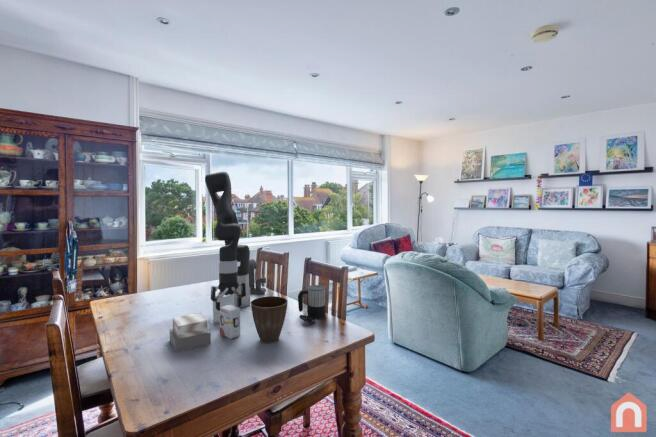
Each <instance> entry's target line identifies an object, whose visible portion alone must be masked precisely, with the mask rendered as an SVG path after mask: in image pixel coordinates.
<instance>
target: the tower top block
mask: <svg viewBox="0 0 656 437" xmlns="http://www.w3.org/2000/svg"><path fill="white" fill-rule="evenodd" d="M208 326H209V325H208V319H207V318H206V317H205V316H204V315H203V314H202V312H197V313H192V314H185V315H181V316H175V317H172V329H173V331H174V333H175V334H176V336H177V338H178V339H181V338H185V337H190V336H194V335H199V334H204V333H208V330H209V329H208Z"/></svg>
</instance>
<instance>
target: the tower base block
mask: <svg viewBox="0 0 656 437" xmlns="http://www.w3.org/2000/svg"><path fill="white" fill-rule="evenodd" d="M211 339H212V338H211V331H210V330H209V329H208V333H204V334H199V335H194V336H190V337H185V338H181V339H178V338H177V336H176V334H175V333H174V331H173V328H169V341H170V344H171V346H172V348H173V349H174V351H175V353H178V352H182V351H186V350H191V349H195V348H199V347H203V346H207V345H211V344H212V341H211Z"/></svg>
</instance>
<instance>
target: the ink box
mask: <svg viewBox="0 0 656 437" xmlns="http://www.w3.org/2000/svg"><path fill="white" fill-rule="evenodd" d="M219 334H220V335H222V336H224V337H226V338H229V339H234V338H237V337H240V336H241V308H237V307H235V306H232V305H226V306H223V307H220V322H219Z"/></svg>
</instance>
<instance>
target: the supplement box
mask: <svg viewBox="0 0 656 437" xmlns="http://www.w3.org/2000/svg"><path fill="white" fill-rule="evenodd" d="M217 296H218V293H215V298H216V297H217ZM219 302H220V307H223V306H226V305H232V306H234V294H232V295H230V294H229V295H224V296H223V297H222V298H221V300H220V301H219ZM212 321H213V322H214V323H220V311H218V310H217V309H216V302H215V301H212Z"/></svg>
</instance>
